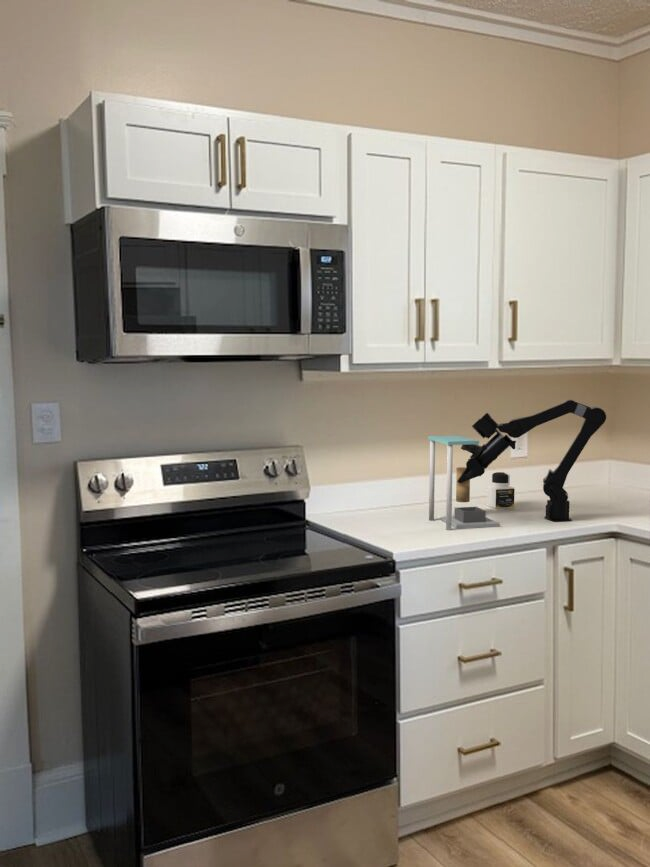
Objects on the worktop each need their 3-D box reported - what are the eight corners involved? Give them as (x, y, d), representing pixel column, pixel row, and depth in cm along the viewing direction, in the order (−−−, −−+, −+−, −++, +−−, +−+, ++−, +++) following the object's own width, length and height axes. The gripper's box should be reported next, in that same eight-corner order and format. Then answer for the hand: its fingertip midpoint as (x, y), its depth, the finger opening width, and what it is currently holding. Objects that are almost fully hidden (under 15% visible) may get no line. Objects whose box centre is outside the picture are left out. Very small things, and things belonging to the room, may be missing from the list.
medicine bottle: (495, 509, 299) (496, 474, 298) (486, 505, 306) (487, 471, 305) (514, 508, 301) (515, 473, 300) (504, 504, 308) (505, 471, 307)
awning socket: (479, 517, 284) (480, 435, 281) (501, 527, 267) (503, 440, 265) (427, 519, 280) (428, 436, 277) (446, 530, 263) (448, 441, 261)
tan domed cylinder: (466, 499, 290) (466, 467, 288) (471, 502, 285) (472, 468, 284) (454, 500, 289) (454, 467, 287) (459, 502, 284) (459, 469, 283)
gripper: (477, 428, 293) (444, 460, 296) (474, 433, 275) (438, 467, 278) (501, 452, 292) (467, 483, 295) (499, 459, 274) (463, 492, 277)
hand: (458, 481), depth 287 cm, fingers closed on tan domed cylinder, 4 cm apart
